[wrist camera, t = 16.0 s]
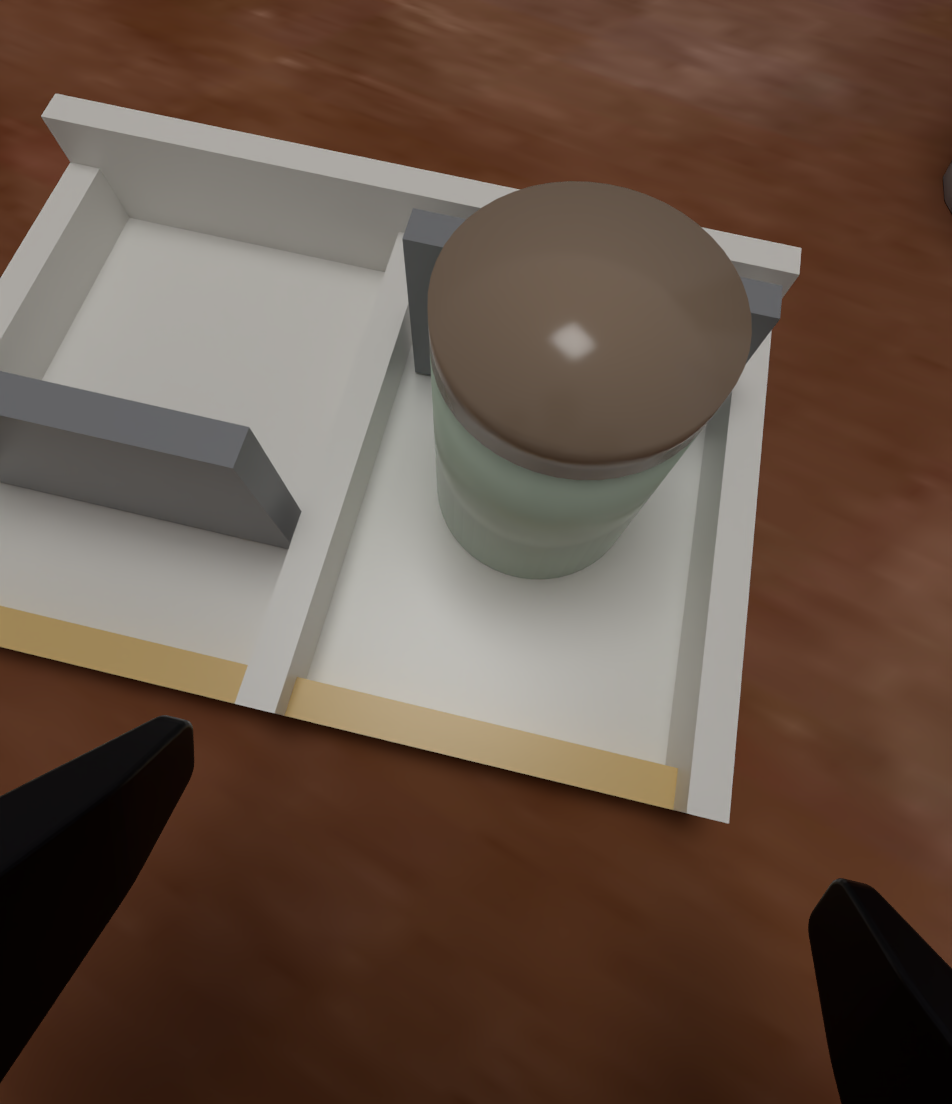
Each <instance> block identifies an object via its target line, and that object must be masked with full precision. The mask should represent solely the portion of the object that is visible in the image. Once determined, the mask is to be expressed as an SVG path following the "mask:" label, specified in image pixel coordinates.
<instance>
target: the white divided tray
mask: <svg viewBox="0 0 952 1104" xmlns="http://www.w3.org/2000/svg"><path fill="white" fill-rule="evenodd" d="M41 117H42V119H43V120H44V122H45V123H46V125H47V126H48V128H49V130H50V131H51V133H52V134H53V136H54V137H55V139H56V140H57V142H58V144H59V145H60V147H61V148H62V150H63V151H64V153H65V154H66V156H67V158H68V159H69V161H70V164H69V166H68V167H67V169H66V171H65V172H64V174H63V176H62V177H61V179H60V180H59V182H58V184H57V185H56V187H55V189H54V190H53V192H52V194H51V195H50V197H49V199H48V200H47V202H46V204H45V205H44V207H43V209H42V210H41V212H40V214H39V215H38V217H37V219H36V220H35V222H34V224H33V225H32V227H31V228H30V230H29V232H28V233H27V235H26V237H25V238H24V240H23V242H22V243H21V245H20V247H19V248H18V250H17V252H16V253H15V255H14V257H13V258H12V260H11V262H10V263H9V265H8V267H7V268H6V270H5V272H4V273H3V275H2V276H1V278H0V647H3V648H7V649H11V650H15V651H19V652H24V653H28V654H32V655H36V656H40V657H44V658H48V659H52V660H57V661H61V662H65V663H69V664H73V665H77V666H81V667H85V668H90V669H94V670H98V671H102V672H106V673H110V674H114V675H118V676H123V677H127V678H131V679H135V680H139V681H143V682H147V683H151V684H156V685H160V686H164V687H168V688H172V689H176V690H180V691H184V692H189V693H193V694H197V695H201V696H205V697H209V698H213V699H217V700H222V701H226V702H230V703H234V704H238V705H242V706H246V707H250V708H254V709H258V710H262V711H267V712H271V713H275V714H279V715H283V716H288V717H292V718H296V719H300V720H304V721H308V722H312V723H316V724H321V725H325V726H329V727H333V728H337V729H341V730H345V731H349V732H354V733H358V734H362V735H366V736H370V737H374V738H378V739H382V740H387V741H391V742H395V743H399V744H403V745H407V746H411V747H415V748H420V749H424V750H428V751H432V752H436V753H440V754H444V755H448V756H453V757H457V758H461V759H465V760H469V761H473V762H477V763H481V764H485V765H490V766H494V767H498V768H502V769H506V770H510V771H514V772H518V773H523V774H527V775H531V776H535V777H539V778H543V779H547V780H551V781H556V782H560V783H564V784H568V785H572V786H576V787H580V788H584V789H589V790H593V791H597V792H601V793H605V794H609V795H613V796H617V797H622V798H626V799H630V800H634V801H638V802H642V803H646V804H650V805H655V806H659V807H663V808H667V809H671V810H675V811H679V812H683V813H687V814H691V815H695V816H700V817H704V818H708V819H712V820H716V821H720V822H724V823H728V824H729V817H730V806H731V794H732V782H733V771H734V759H735V748H736V736H737V724H738V713H739V701H740V690H741V678H742V667H743V655H744V643H745V632H746V620H747V609H748V597H749V585H750V574H751V562H752V551H753V539H754V528H755V516H756V504H757V493H758V481H759V470H760V458H761V447H762V435H763V423H764V412H765V400H766V389H767V377H768V365H769V354H770V342H771V331H772V330H771V331H770V333H769V334H768V335H767V337H766V338H765V339H764V341H763V342H762V343H761V345H760V346H759V347H758V349H757V350H756V351H755V353H754V354H753V355H752V357H751V358H750V359H749V361H748V362H747V363H746V365H745V368H744V370H743V372H742V374H741V376H740V378H739V380H738V382H737V384H736V385H735V387H734V388H733V390H732V391H731V392H730V394H729V395H728V397H727V398H726V399H725V401H724V402H723V403H722V405H721V406H720V407H719V408H718V410H717V411H716V412H715V414H714V415H713V416H712V418H711V419H710V420H709V421H708V423H707V424H706V425H705V427H704V428H703V429H702V431H701V432H700V433H699V434H698V436H697V437H696V438H695V440H694V441H693V442H692V443H691V445H690V446H689V447H688V449H687V450H686V451H685V453H684V454H683V455H682V456H681V458H680V459H679V460H678V462H677V463H676V464H675V466H674V467H673V468H672V469H671V471H670V472H669V473H668V475H667V476H666V477H665V479H664V480H663V481H662V482H661V484H660V485H659V486H658V488H657V489H656V490H655V491H654V493H653V494H652V495H651V497H650V498H649V499H648V501H647V502H646V503H645V504H644V506H643V507H642V508H641V510H640V511H639V512H638V514H637V515H636V516H635V517H634V519H633V520H632V521H631V523H630V524H629V525H628V527H627V528H626V529H625V530H624V532H623V533H622V534H621V536H620V537H619V538H618V540H617V541H616V542H615V543H614V545H613V546H612V547H611V548H610V549H609V550H608V551H607V552H606V553H605V554H604V555H603V556H602V557H601V558H600V559H598V560H597V561H596V562H595V563H593V564H591V565H590V566H588V567H586V568H585V569H583V570H580V571H578V572H575V573H573V574H570V575H567V576H563V577H559V578H552V579H525V578H518V577H514V576H510V575H506V574H504V573H501V572H498V571H496V570H493V569H492V568H490V567H488V566H486V565H484V564H482V563H481V562H479V561H478V560H477V559H475V558H474V557H473V556H471V555H470V554H469V553H468V552H467V551H466V550H465V549H464V548H463V547H462V546H461V545H460V544H459V543H458V541H457V540H456V539H455V538H454V536H453V535H452V533H451V532H450V530H449V528H448V527H447V525H446V522H445V520H444V518H443V516H442V512H441V509H440V505H439V500H438V493H437V477H436V458H435V440H434V421H433V403H432V385H431V376H430V375H426V374H421V373H417V372H415V366H414V355H413V345H412V335H411V324H410V314H409V303H408V293H407V282H406V272H405V262H404V251H403V241H402V238H403V235H404V232H405V230H406V227H407V224H408V221H409V218H410V215H411V212H412V209H413V208H415V209H420V210H424V211H429V212H434V213H439V214H444V215H448V216H453V217H458V218H463V219H467V218H469V217H470V216H471V215H473V214H474V213H475V212H476V211H478V210H479V209H480V208H482V207H484V206H485V205H487V204H489V203H491V202H492V201H494V200H496V199H498V198H500V197H502V196H505V195H507V194H509V193H512V192H514V191H518V190H519V189H514V188H509V187H504V186H499V185H495V184H490V183H485V182H480V181H475V180H471V179H466V178H461V177H456V176H451V175H446V174H442V173H437V172H432V171H427V170H422V169H417V168H413V167H408V166H403V165H398V164H393V163H388V162H384V161H379V160H374V159H369V158H364V157H360V156H355V155H350V154H345V153H340V152H335V151H331V150H326V149H321V148H316V147H311V146H306V145H302V144H297V143H292V142H287V141H282V140H278V139H273V138H268V137H263V136H258V135H253V134H249V133H244V132H239V131H234V130H229V129H224V128H220V127H215V126H210V125H205V124H200V123H196V122H191V121H186V120H181V119H176V118H171V117H167V116H162V115H157V114H152V113H147V112H142V111H138V110H133V109H128V108H123V107H118V106H114V105H109V104H104V103H99V102H94V101H89V100H85V99H80V98H75V97H70V96H65V95H60V94H55V95H54V97H53V98H52V100H51V101H50V103H49V104H48V106H47V108H46V109H45V111H44V112H43V114H42V115H41ZM701 228H702V227H701ZM703 229H704V230H705V231H706V232H707V233H708V234H709V235H710V236H711V237H712V238H713V239H714V240H715V241H716V242H717V243H718V245H719V246H720V247H721V248H722V249H723V250H724V252H725V253H726V255H727V256H728V257H729V259H730V260H731V262H732V263H733V265H734V267H735V268H736V270H737V272H738V274H739V276H740V277H744V278H749V279H753V280H758V281H763V282H768V283H773V284H777V285H782V286H783V288H782V298H783V297H784V295H785V294H786V292H787V291H788V290H789V288H790V287H791V285H792V284H793V283H794V281H795V280H796V279H797V277H798V276H799V273H800V259H801V248H799V247H794V246H789V245H784V244H779V243H774V242H770V241H765V240H760V239H755V238H750V237H745V236H741V235H736V234H731V233H726V232H721V231H717V230H712V229H707V228H703Z"/></svg>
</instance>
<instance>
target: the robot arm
mask: <svg viewBox="0 0 952 1104" xmlns="http://www.w3.org/2000/svg"><path fill="white" fill-rule="evenodd" d="M193 768H194V741H193V726H192V724H191V723H190V722H189V721H187V720H184V719H179V718H175V717H171V716H166V715H164V716H159V717H156V718H154V719H152V720H150V721H148V722H146V723H144V724H142V725H140V726H138V727H136V728H134V729H132V730H130V731H128V732H126V733H124V734H122V735H120V736H118V737H117V738H115V739H113V740H111V741H109V742H107V743H105V744H103V745H101V746H99V747H97V748H95V749H93V750H91V751H89V752H87V753H85V754H83V755H81V756H79V757H77V758H75V759H73V760H71V761H69V762H67V763H65V764H63V765H61V766H59V767H57V768H55V769H53V770H51V771H49V772H47V773H45V774H43V775H41V776H39V777H37V778H35V779H33V780H31V781H29V782H27V783H25V784H23V785H22V786H20V787H18V788H16V789H14V790H12V791H10V792H8V793H6V794H4V795H2V796H0V1083H1V1081H2V1080H3V1078H4V1077H5V1075H6V1074H7V1072H8V1071H9V1069H10V1068H11V1066H12V1065H13V1063H14V1062H15V1060H16V1059H17V1057H18V1056H19V1054H20V1053H21V1051H22V1050H23V1048H24V1047H25V1046H26V1044H27V1043H28V1041H29V1040H30V1038H31V1037H32V1035H33V1034H34V1032H35V1031H36V1029H37V1028H38V1026H39V1025H40V1023H41V1022H42V1020H43V1019H44V1017H45V1016H46V1014H47V1013H48V1011H49V1010H50V1008H51V1007H52V1005H53V1004H54V1002H55V1001H56V999H57V998H58V996H59V995H60V993H61V992H62V990H63V989H64V987H65V986H66V984H67V983H68V981H69V980H70V978H71V977H72V975H73V974H74V973H75V971H76V970H77V968H78V967H79V965H80V964H81V962H82V961H83V959H84V958H85V956H86V955H87V953H88V952H89V950H90V949H91V947H92V946H93V944H94V943H95V941H96V940H97V938H98V937H99V935H100V934H101V932H102V931H103V929H104V928H105V926H106V925H107V923H108V922H109V920H110V919H111V917H112V916H113V914H114V913H115V911H116V910H117V908H118V907H119V905H120V904H121V902H122V901H123V899H124V898H125V896H126V895H127V893H128V891H129V890H130V888H131V887H132V885H133V883H134V882H135V880H136V878H137V876H138V875H139V873H140V871H141V869H142V868H143V866H144V864H145V862H146V860H147V858H148V856H149V855H150V853H151V851H152V849H153V847H154V845H155V843H156V842H157V840H158V838H159V836H160V834H161V832H162V830H163V829H164V827H165V825H166V823H167V821H168V819H169V817H170V816H171V814H172V812H173V810H174V808H175V806H176V804H177V803H178V801H179V799H180V797H181V795H182V793H183V791H184V790H185V788H186V786H187V784H188V782H189V780H190V778H191V775H192V772H193ZM808 931H809V939H810V945H811V951H812V956H813V962H814V968H815V974H816V980H817V986H818V991H819V997H820V1003H821V1009H822V1015H823V1021H824V1027H825V1032H826V1038H827V1044H828V1049H829V1054H830V1059H831V1064H832V1068H833V1072H834V1076H835V1080H836V1084H837V1088H838V1092H839V1096H840V1100H841V1103H842V1104H952V968H951V967H950V966H949V965H948V964H947V963H946V962H945V961H944V960H943V959H942V958H941V957H940V956H939V955H938V954H937V953H936V952H935V951H934V950H933V949H932V948H931V947H930V946H929V945H928V944H927V943H926V941H925V940H924V939H923V938H922V937H921V936H920V935H919V934H918V933H917V932H916V931H915V930H914V929H913V928H912V927H911V926H910V925H909V924H908V923H907V922H906V921H905V920H904V919H903V918H902V917H901V916H900V914H899V913H898V912H897V911H896V910H895V909H894V908H893V907H892V906H891V905H890V904H889V903H888V902H887V901H886V900H885V899H884V898H883V897H882V896H881V895H880V894H879V893H878V892H877V891H876V890H875V889H874V888H872V887H871V886H869V885H867V884H864V883H860V882H856V881H851V880H847V879H843V878H839V879H837V880H834V881H833V882H832V883H831V885H830V886H829V888H828V889H827V890H826V892H825V893H824V895H823V896H822V898H821V899H820V901H819V902H818V904H817V905H816V907H815V908H814V910H813V911H812V913H811V916H810V919H809V925H808Z"/></svg>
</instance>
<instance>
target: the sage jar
mask: <svg viewBox="0 0 952 1104" xmlns="http://www.w3.org/2000/svg"><path fill="white" fill-rule="evenodd" d="M427 311H428V330H429V348H430V366H431V385H432V403H433V421H434V440H435V458H436V477H437V493H438V500H439V505H440V509H441V512H442V516H443V518H444V520H445V522H446V525H447V527H448V528H449V530H450V532H451V533H452V535H453V536H454V538H455V539H456V540H457V541H458V543H459V544H460V545H461V546H462V547H463V548H464V549H465V550H466V551H467V552H468V553H469V554H470V555H471V556H473V557H474V558H475V559H477V560H478V561H479V562H481V563H482V564H484V565H486V566H488V567H490V568H492V569H493V570H496V571H498V572H501V573H504V574H506V575H510V576H514V577H518V578H525V579H552V578H559V577H563V576H567V575H570V574H573V573H575V572H578V571H580V570H583V569H585V568H586V567H588V566H590V565H591V564H593V563H595V562H596V561H597V560H598V559H600V558H601V557H602V556H603V555H604V554H605V553H606V552H607V551H608V550H609V549H610V548H611V547H612V546H613V545H614V543H615V542H616V541H617V540H618V538H619V537H620V536H621V534H622V533H623V532H624V530H625V529H626V528H627V527H628V525H629V524H630V523H631V521H632V520H633V519H634V517H635V516H636V515H637V514H638V512H639V511H640V510H641V508H642V507H643V506H644V504H645V503H646V502H647V501H648V499H649V498H650V497H651V495H652V494H653V493H654V491H655V490H656V489H657V488H658V486H659V485H660V484H661V482H662V481H663V480H664V479H665V477H666V476H667V475H668V473H669V472H670V471H671V469H672V468H673V467H674V466H675V464H676V463H677V462H678V460H679V459H680V458H681V456H682V455H683V454H684V453H685V451H686V450H687V449H688V447H689V446H690V445H691V443H692V442H693V441H694V440H695V438H696V437H697V436H698V434H699V433H700V432H701V431H702V429H703V428H704V427H705V425H706V424H707V423H708V421H709V420H710V419H711V418H712V416H713V415H714V414H715V412H716V411H717V410H718V408H719V407H720V406H721V405H722V403H723V402H724V401H725V399H726V398H727V397H728V395H729V394H730V392H731V391H732V390H733V388H734V387H735V385H736V384H737V382H738V380H739V378H740V376H741V374H742V372H743V370H744V368H745V364H746V361H747V358H748V354H749V351H750V344H751V336H752V323H751V312H750V306H749V301H748V297H747V294H746V291H745V288H744V285H743V283H742V280H741V278H740V276H739V274H738V272H737V270H736V268H735V267H734V265H733V263H732V262H731V260H730V259H729V257H728V256H727V255H726V253H725V252H724V250H723V249H722V248H721V247H720V246H719V245H718V243H717V242H716V241H715V240H714V239H713V238H712V237H711V236H710V235H709V234H708V233H707V232H706V231H705V230H704V229H703V228H701V227H700V226H699V225H698V224H697V223H696V222H694V221H693V220H691V219H690V218H689V217H687V216H686V215H684V214H683V213H682V212H680V211H678V210H676V209H675V208H673V207H671V206H669V205H668V204H666V203H664V202H662V201H660V200H657V199H655V198H653V197H651V196H648V195H646V194H643V193H640V192H637V191H634V190H631V189H627V188H623V187H619V186H614V185H610V184H602V183H594V182H573V181H569V182H556V183H547V184H542V185H536V186H531V187H528V188H524V189H521V190H518V191H514V192H512V193H509V194H507V195H505V196H502V197H500V198H498V199H496V200H494V201H492V202H491V203H489V204H487V205H485V206H484V207H482V208H480V209H479V210H478V211H476V212H475V213H474V214H473V215H471V216H470V217H469V218H467V219H466V220H465V221H464V222H463V223H462V224H461V225H460V226H459V227H458V228H457V229H456V230H455V231H454V233H453V234H452V235H451V237H450V238H449V239H448V241H447V242H446V243H445V245H444V247H443V248H442V250H441V252H440V254H439V256H438V258H437V260H436V262H435V265H434V268H433V271H432V274H431V277H430V283H429V289H428V309H427Z"/></svg>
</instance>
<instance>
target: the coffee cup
mask: <svg viewBox="0 0 952 1104" xmlns="http://www.w3.org/2000/svg"><path fill="white" fill-rule="evenodd" d="M943 186H944V200H945V202H946V204H947V206H948V208H949V209H950V211H951V213H952V162H951V163H950V165H949V167H948V169H947V171H946V173H945V174H944V176H943Z"/></svg>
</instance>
